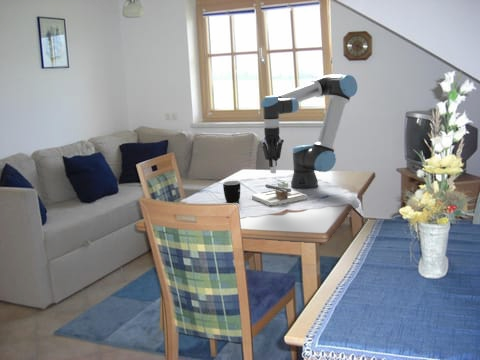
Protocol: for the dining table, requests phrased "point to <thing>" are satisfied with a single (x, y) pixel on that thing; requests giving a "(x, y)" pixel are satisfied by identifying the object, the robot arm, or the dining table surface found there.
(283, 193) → the slider walnut
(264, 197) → the console
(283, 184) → the slider sage
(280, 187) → the rocker
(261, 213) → the dining table surface
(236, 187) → the mug
